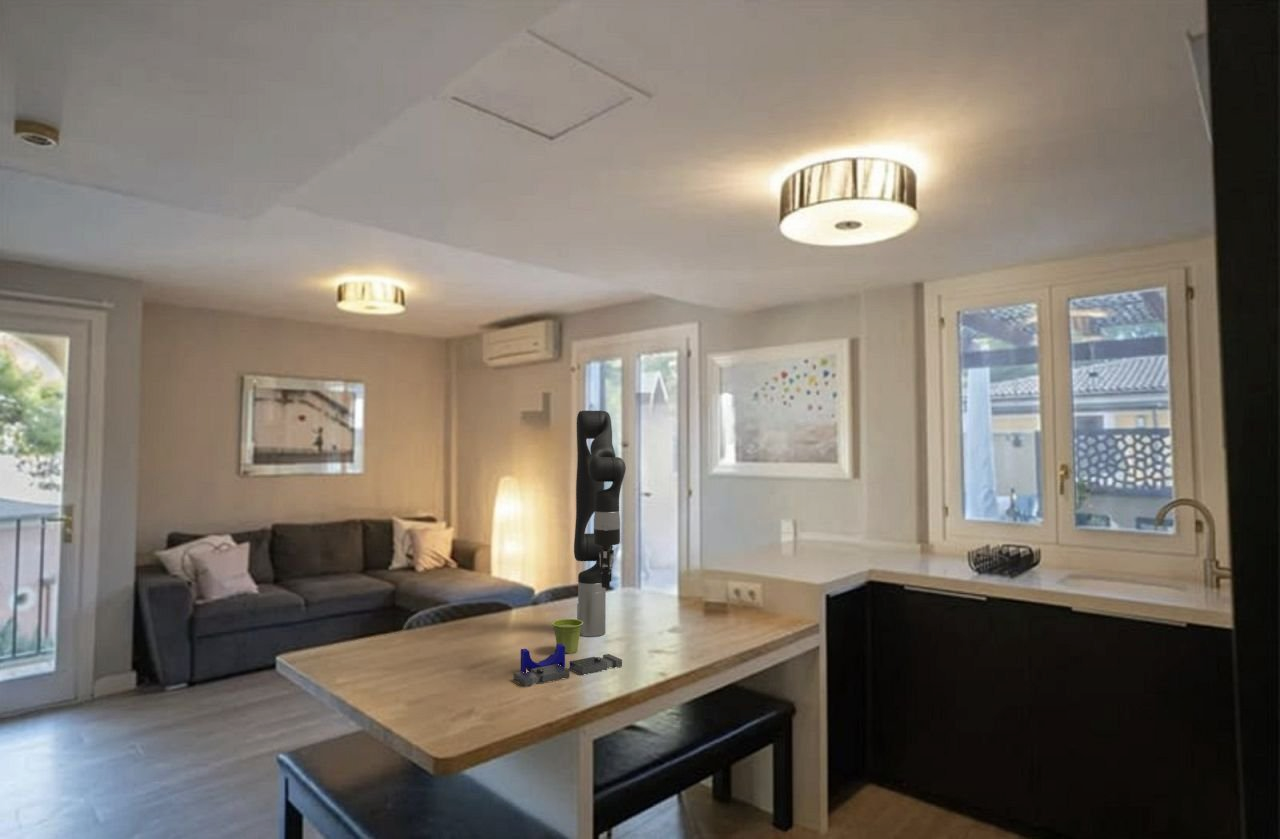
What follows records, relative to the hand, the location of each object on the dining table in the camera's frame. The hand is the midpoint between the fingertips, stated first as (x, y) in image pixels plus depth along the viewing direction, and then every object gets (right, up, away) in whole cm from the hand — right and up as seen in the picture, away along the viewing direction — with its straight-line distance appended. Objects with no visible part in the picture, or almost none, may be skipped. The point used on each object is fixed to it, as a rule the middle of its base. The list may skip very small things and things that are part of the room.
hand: (606, 584), depth 197 cm
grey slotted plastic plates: (-10, -23, -7) cm, 26 cm away
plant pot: (-13, -24, +14) cm, 31 cm away
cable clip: (-18, -23, -2) cm, 30 cm away
